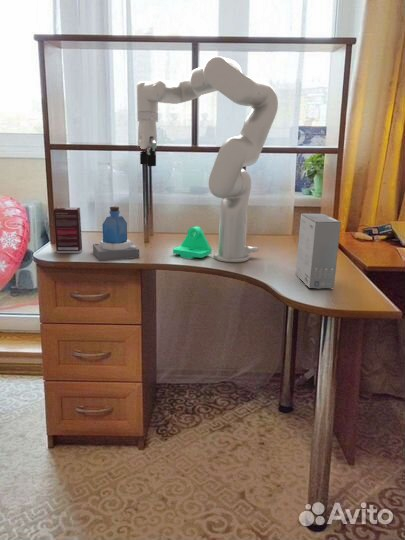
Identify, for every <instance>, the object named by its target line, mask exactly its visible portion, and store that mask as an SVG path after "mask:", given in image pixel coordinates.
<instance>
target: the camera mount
mask: <svg viewBox="0 0 405 540" xmlns="http://www.w3.org/2000/svg"><path fill="white" fill-rule="evenodd" d="M212 251H213V250H212V247H211V245H210V244H209V242H208V240H207V237H206V236H205V233H204V231H203V229H202V228H201V227H200V226H193V227H190V228H189V229H188V230H187V235H186V237H185V238H184V240H183V242H182V243H181V245H180V246H176V247H174V248H172V254H175V255H180V258H184V259H189V260H193V259H195V258H204V257H206V256H208V255H211V254H212Z"/></svg>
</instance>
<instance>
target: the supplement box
mask: <svg viewBox="0 0 405 540" xmlns="http://www.w3.org/2000/svg"><path fill="white" fill-rule="evenodd" d="M52 210H53V223H54V236H55V252H56V254H81V252H82V251H83V242H82V241H83V240H82V222H81V221H82V220H81V208H80V207H61V206H60V207H55V208H53V209H52Z"/></svg>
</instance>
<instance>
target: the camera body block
mask: <svg viewBox="0 0 405 540" xmlns="http://www.w3.org/2000/svg"><path fill="white" fill-rule="evenodd" d="M99 242H100V243H98V242H97V243H93V244H92V252H93V254H94V255H95V257H96V258H97V260H98V261H109V260H111V261H112V260H123V259H138V258H140V248H139V247H138V246H136V244H134V243H132V242H131V240H130V239H128V238H127V241H124V242H122V243H119V244H116V243H107V242H103V239H102V240H100V241H99Z"/></svg>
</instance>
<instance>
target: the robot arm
mask: <svg viewBox="0 0 405 540" xmlns="http://www.w3.org/2000/svg"><path fill="white" fill-rule="evenodd" d="M136 91H137V92H136V101H137V102H136V105H137V107H136V109H137V111H136V116H137V118H136V119H137V122H138V127H137V128H138V129H137V147H138V146H140V148H141V149H146V148H147V151H148V152H140V151H139V152H140V153H139V159H140V160H139V161H140V162H139V164H140V165H146V166H147V167H156V166H157V144H158V142H157V141H158V139H157V136H158V135H157V123H158V122H159V103H162V104H171V105H178V104H183V103H186V102H190V101H192V100H195V99H198V98H199V97H201V96H203V95H206V94H211V93H214V92H217V91H218V92H219V93H220V94H222V95H223V96H224V97H226V98H227V99H229V100H230V101H231V102H233V103H235V104H236V105H240V106H242V107H243V106H246V107H251V111H250V113H249V114H248V115H247V117H246V118H245V121H244V123H243V125H242V128H241V130H240V133H239V135H238V136H232V137H229V138H227V139H226V140H225V141H224V142H223V143H222V145H221V146H220V147H219V150H218V153H217V155H216V157H215V161H214V164H213V167H212V168H211V171H210V174H209V178H208V189H209V192H210V193H211V194H212V195H213V196H214V197H215V198H218V199H221V202H220V205H219V222H218V223H219V224H218V225H219V226H218V250H217V252H214V254H213V258H214V259H215V260H217V261H221V262H226V263H242V262H243V263H244V262H247V261H249V260H250V255H249V254H251V253H258V251H259V248H258V246H251V245H250V246H248V245H247V244H246V243H247V241H246V240H247V225H248V222H247V221H248V209H249V198H250V194H251V190H252V179H251V175H250V173H249V172H248V171H247V170H246V169H245V168H244V167H250V166H253V165H254V164H255V163H257V162H258V159H259V158H260V156H261V152H262V151H263V148H264V146H265V143H266V140H267V138H268V135H269V132H270V130H271V128H272V125H273V122H274V120H275V119H276V116H277V113H278V109H279V107H278V106H279V101H278V95H277V93H276V91H275V89H274V88H273V87H272V86H271V84H270V83H268V82H267V81H266V80H263V79H260V78H257V77H252V76H248V75H246V74H245V73H243V72H242V69H241V66H240V65H239V63H238V62H236V61H235V60H233V59H231V58H227V57H224V56H218V55H217V56H212V57H211V58H209V59H208V60H207V61H206V63H205V64H204V66H201V67H197V68H194V69H193V70H192V71H191V73H190V77H189V78H187V79H183V80H180V81H172V80H166V79H156V80H152V81H151V80H150V81H148V80H146V81H145V80H142V81H139V82H138V83H137V85H136Z"/></svg>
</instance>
